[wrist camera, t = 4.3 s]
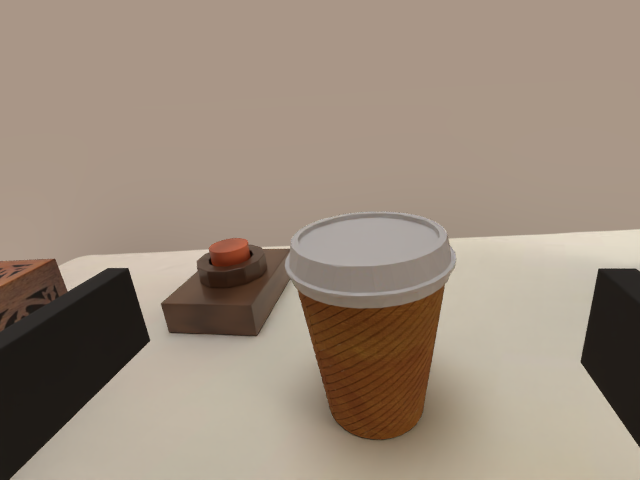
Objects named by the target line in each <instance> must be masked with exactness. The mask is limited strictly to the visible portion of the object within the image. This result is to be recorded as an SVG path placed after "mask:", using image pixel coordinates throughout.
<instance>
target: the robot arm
mask: <svg viewBox="0 0 640 480" xmlns="http://www.w3.org/2000/svg"><path fill="white" fill-rule="evenodd" d="M149 341H150V338H149V335H148V332H147V328H146V325H145V322H144V318H143V315H142V312H141V308H140V305H139V302H138V299H137V295H136V292H135V289H134V285H133V282H132V279H131V275H130V272H129V269H128V268H107V269H106V270H104V271H102V272H101V273H99V274H97V275H95V276H94V277H92V278H90V279H89V280H87V281H85V282H84V283H82V284H80V285H78V286H77V287H75V288H73V289H72V290H70V291H68V292H67V293H65V294H63V295H62V296H60V297H58V298H56V299H55V300H53V301H51V302H50V303H48V304H46V305H45V306H43V307H41V308H39V309H38V310H36V311H34V312H33V313H31V314H29V315H28V316H26V317H24V318H22V319H21V320H19V321H17V322H16V323H14V324H12V325H11V326H9V327H7V328H5V329H4V330H2V331H0V480H9V479H10V478H11V477H12V476H13V475H14V474H15V473H16V472H17V471H18V470H19V469H20V468H21V467H22V466H23V465H24V464H25V463H26V462H27V461H29V460H30V459H31V458H32V457H33V456H34V455H35V454H36V453H37V452H38V451H39V450H40V449H41V448H42V447H43V446H44V445H45V444H46V443H47V442H48V441H49V440H50V439H51V438H52V437H53V436H54V435H55V434H56V433H57V432H58V431H59V430H60V429H61V428H62V427H63V426H64V425H65V424H66V423H67V422H68V421H69V420H70V419H71V418H72V417H73V416H74V415H75V414H76V413H77V412H78V411H79V410H80V409H81V408H82V407H83V406H84V405H85V404H86V403H87V402H88V401H89V400H91V399H92V398H93V397H94V396H95V395H96V394H97V393H98V392H99V391H100V390H101V389H102V388H103V387H104V386H105V385H106V384H107V383H108V382H109V381H110V380H111V379H112V378H113V377H114V376H115V375H116V374H117V373H118V372H119V371H120V370H121V369H122V368H123V367H124V366H125V365H126V364H127V363H128V362H129V361H130V360H131V359H132V358H133V357H134V356H135V355H136V354H137V353H138V352H139V351H140V350H141V349H142V348H143V347H144V346H145V345H146V344H147V343H148V342H149ZM581 363H582V365H583V366H584V368H585V369H586V371H587V372H588V373H589V375H590V376H591V378H592V379H593V381H594V382H595V384H596V385H597V386H598V388H599V389H600V391H601V392H602V394H603V395H604V397H605V398H606V399H607V401H608V402H609V404H610V405H611V407H612V408H613V410H614V411H615V412H616V414H617V415H618V417H619V418H620V420H621V421H622V422H623V424H624V425H625V427H626V428H627V430H628V431H629V433H630V434H631V435H632V437H633V438H634V440H635V441H636V443H637V444H638V446H639V447H640V271H638V270H637V269H598V274H597V279H596V285H595V290H594V295H593V300H592V305H591V311H590V316H589V321H588V326H587V331H586V337H585V342H584V347H583V352H582V357H581Z"/></svg>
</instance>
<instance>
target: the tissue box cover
mask: <svg viewBox="0 0 640 480" xmlns="http://www.w3.org/2000/svg"><path fill="white" fill-rule="evenodd" d="M67 292H68V291H67V289H66V286H65V284H64V281H63V278H62V276H61V273H60V270H59V268H58V265H57V263H56V260H55V259H39V260H19V261H0V331H2V330H4V329H5V328H7V327H9V326H11V325H12V324H14V323H16V322H17V321H19V320H21V319H22V318H24V317H26V316H28V315H29V314H31V313H33V312H34V311H36V310H38V309H39V308H41V307H43V306H45V305H46V304H48V303H50V302H51V301H53V300H55V299H56V298H58V297H60V296H62V295H63V294H65V293H67Z"/></svg>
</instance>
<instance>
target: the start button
mask: <svg viewBox="0 0 640 480" xmlns="http://www.w3.org/2000/svg"><path fill="white" fill-rule="evenodd" d="M209 253H210V257H211V262H212V265H213V266H216V267H218V266H231V265H236V264H240V263H242V262H244V261H247V260H249V259H250V258H251V256H250V250H249V245H248V242H247V240H245V239H241V238H232V239H226V240H222V241H219V242H216V243H214V244H212V245H211V246H210V247H209Z"/></svg>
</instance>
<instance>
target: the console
mask: <svg viewBox="0 0 640 480" xmlns="http://www.w3.org/2000/svg"><path fill="white" fill-rule="evenodd" d="M249 250H250V256H251V258H250V259H249V260H247V261H244V262H242V263H240V264H236V265H231V266H218V267H216V266H213V265H212V262H211V257H210V253H207V254H205V255H204V256H202V257H201V258H200V259H199V260H197V269H198V271H197V272H196V273H195V274H194V275H193V276H192V277H191V278H190V279H188V280H187V281H186V282H185V283H184V284H183V285H182V286H180V287H179V288H178V289H177V290H176V291H175V292H174V293H172V294H171V295H170V296H169V297H168V298H167V299H166V300H164V301H163V302H162V303H161V306H162V309H163V313H164V316H165V320H166V323H167V327H168V330H169V332H178V333H203V334H228V335H253V336H256V335H257V334H258V332H259V331H260V329H261V327H262V326H263V324H264V322H265V320H266V319H267V317H268V315H269V314H270V312H271V310H272V309H273V307H274V305H275V303H276V302H277V300H278V298H279V297H280V295H281V293H282V292H283V290H284V288H285V286H286V285H287V283H288V281H289V280H290V278H289V276H288V275H287V272H286V269H285V260H286V258H287V256H288V254H289V253H290V249H262V248H261V247H258V246H254V245H249Z"/></svg>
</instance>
